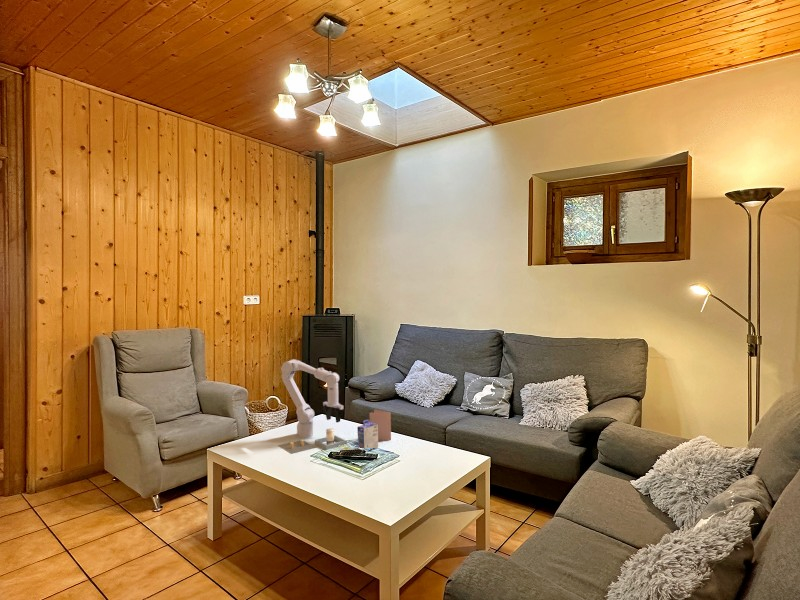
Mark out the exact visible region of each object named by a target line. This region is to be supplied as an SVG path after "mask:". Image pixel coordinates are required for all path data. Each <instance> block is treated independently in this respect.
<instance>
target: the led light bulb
mask: <svg viewBox="0 0 800 600" xmlns="http://www.w3.org/2000/svg"><path fill="white" fill-rule="evenodd" d="M325 433H326V442H325V444H326V445H329V444H333V443H335V440H334V435H335V429H334V428H326V429H325Z"/></svg>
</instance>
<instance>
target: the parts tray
mask: <svg viewBox="0 0 800 600" xmlns="http://www.w3.org/2000/svg"><path fill="white" fill-rule="evenodd" d="M334 441H336V442H334V443H333V444H329V445H327V443H326V437H325V436H324V437H321V438H317V439H314V445H317V446H318V447H320V448H322V449H323V450H326V451H327V450H331V449H335V448H338V447H337V446H339V445H343V446H345V445H344V444H347V445H348V440H347V439H344V438H343V437H339V436H338V435H335V434H334ZM339 447H340V446H339Z"/></svg>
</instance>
